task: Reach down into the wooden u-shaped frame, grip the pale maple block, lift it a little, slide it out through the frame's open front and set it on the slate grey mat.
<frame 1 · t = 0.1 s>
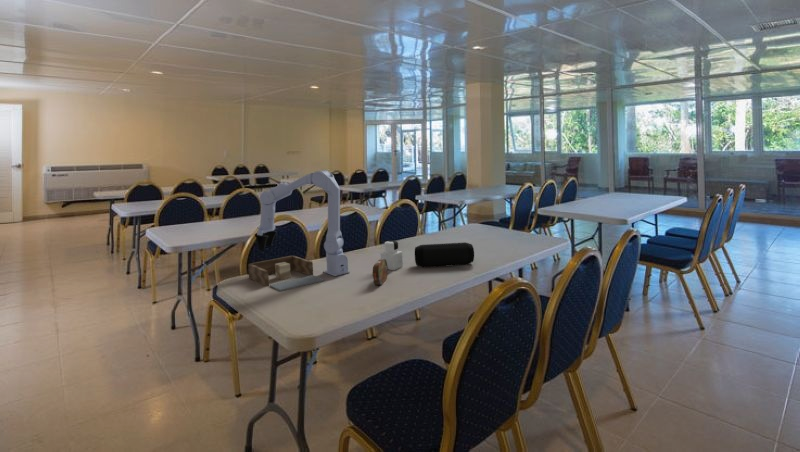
hand: (265, 248, 192), 10 cm above the table, tool pointing down, fingers open, 7 cm apart
tin: (380, 282, 174), on the table
portable speaker: (444, 266, 196), on the table
wooden u-shaped frame: (281, 276, 184), on the table
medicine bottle: (392, 268, 194), on the table
mat: (297, 283, 174), on the table
block: (283, 277, 183), on the table
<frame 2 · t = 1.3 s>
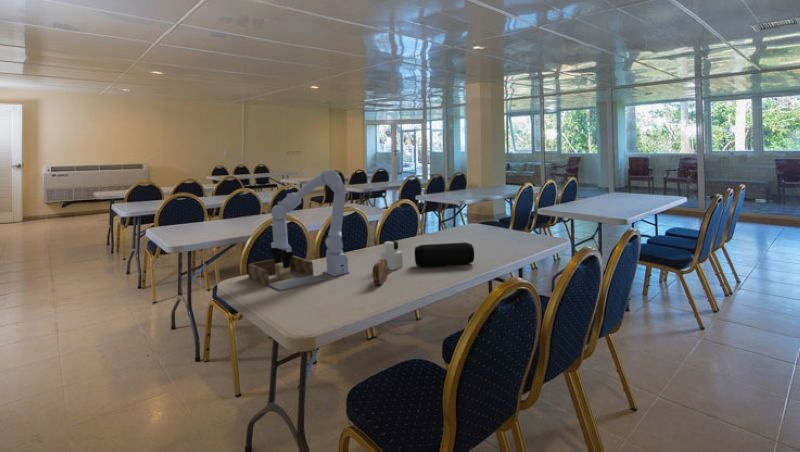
hand: (282, 266, 182), 5 cm above the table, tool pointing down, fingers open, 7 cm apart
nothing on the table moved.
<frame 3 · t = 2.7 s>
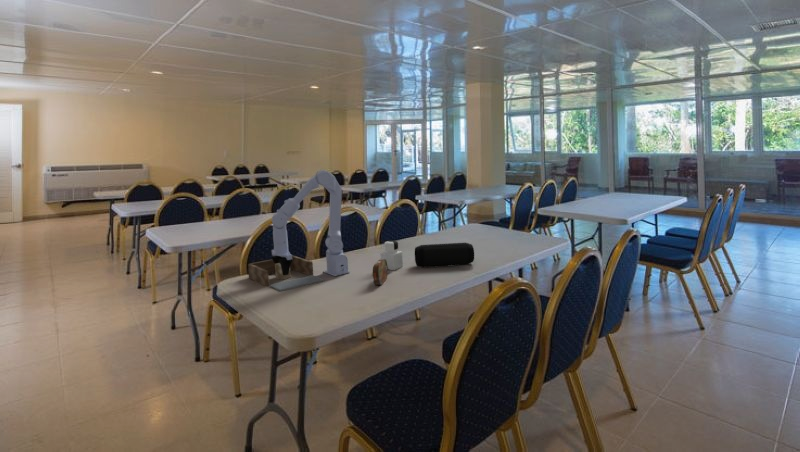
hand: (283, 273, 182), 2 cm above the table, tool pointing down, fingers closed on block, 4 cm apart
block: (283, 277, 183), on the table, touching gripper
everything else where it was.
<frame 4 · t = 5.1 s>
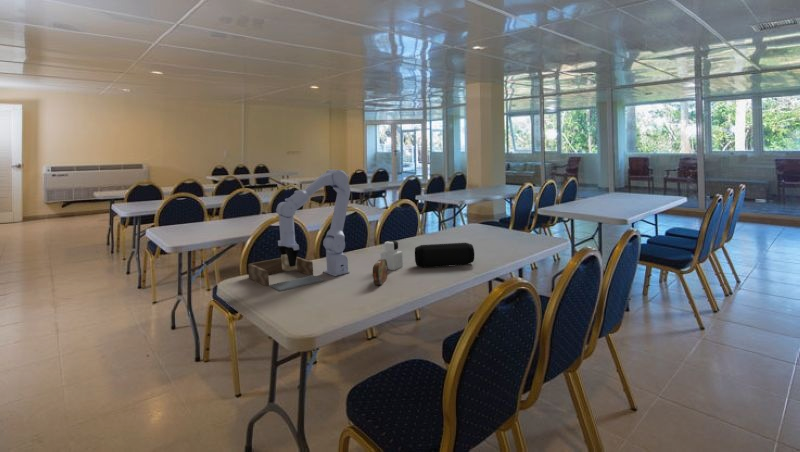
hand: (289, 264, 177), 7 cm above the table, tool pointing down, fingers closed on block, 4 cm apart
block: (289, 269, 177), point 5 cm above the table, touching gripper
everything else where it was.
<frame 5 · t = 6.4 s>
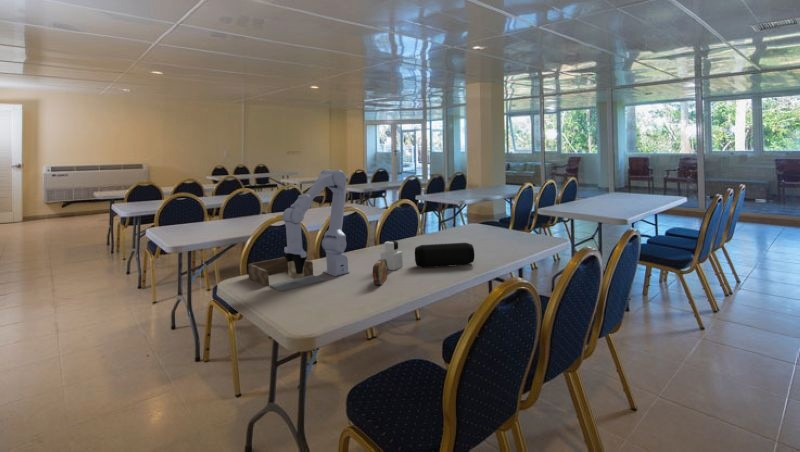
hand: (296, 272, 173), 5 cm above the table, tool pointing down, fingers closed on block, 4 cm apart
block: (296, 276, 173), point 3 cm above the table, touching gripper
everything else where it was.
when the fingers open (3 cm above the table, at t = 7.6 s): block stays where it is, resting on mat.
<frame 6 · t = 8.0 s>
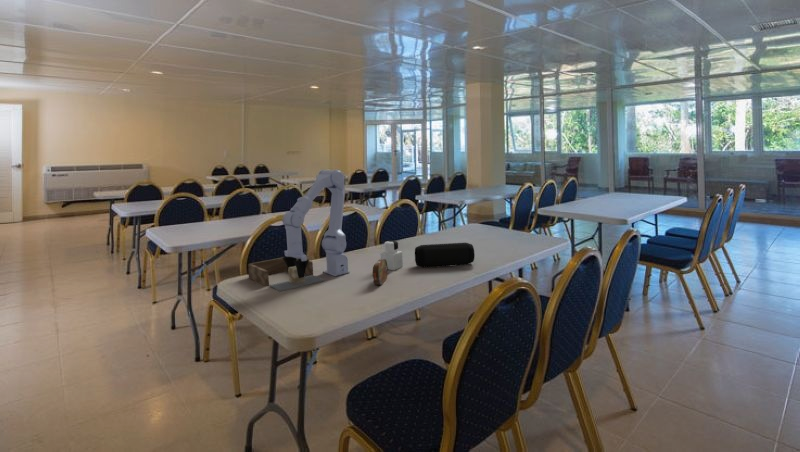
hand: (296, 275, 173), 3 cm above the table, tool pointing down, fingers open, 7 cm apart
block: (297, 282, 174), point 1 cm above the table, touching mat
everything else where it was.
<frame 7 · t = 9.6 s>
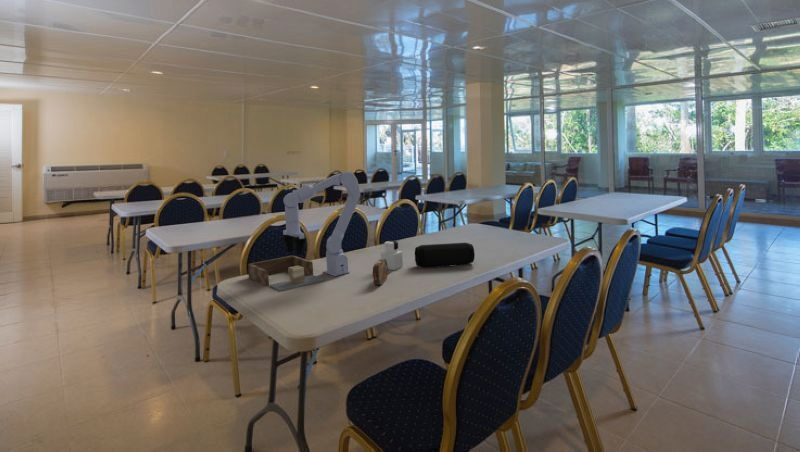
hand: (294, 253, 185), 9 cm above the table, tool pointing down, fingers open, 7 cm apart
nothing on the table moved.
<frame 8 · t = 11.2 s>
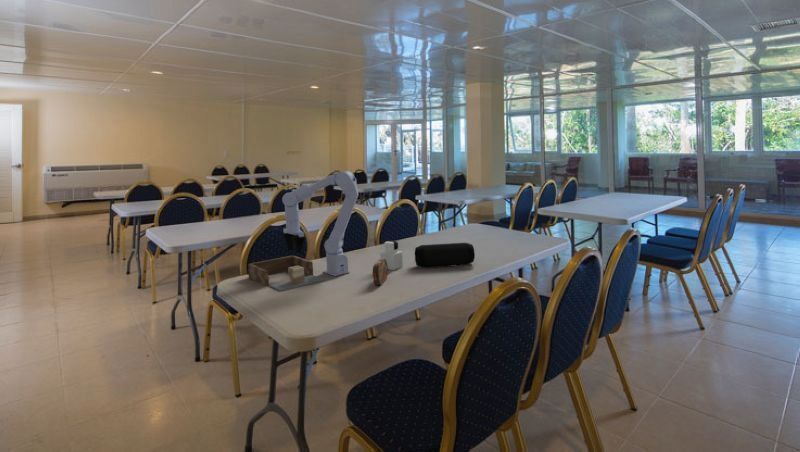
hand: (294, 251, 189), 9 cm above the table, tool pointing down, fingers open, 7 cm apart
nothing on the table moved.
at the end: block inside the target area (0.1 cm from its centre), point 0.6 cm above the table; block tilted 0°; the gripper is holding nothing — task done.
